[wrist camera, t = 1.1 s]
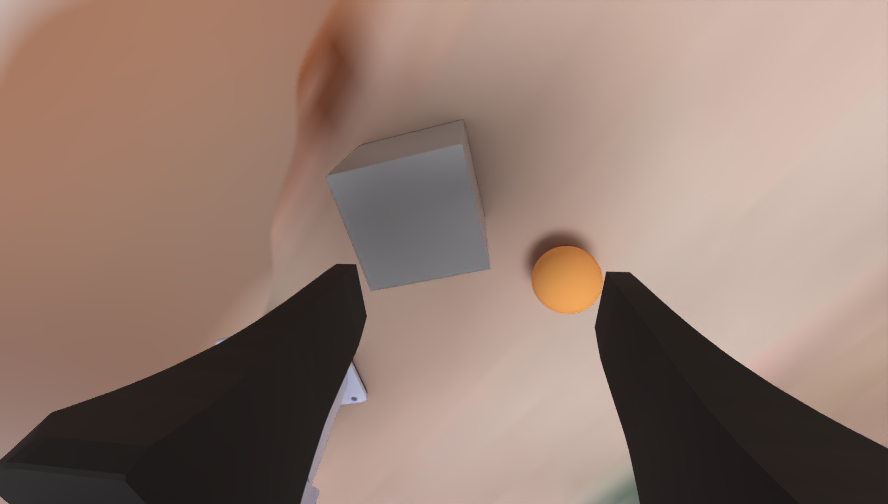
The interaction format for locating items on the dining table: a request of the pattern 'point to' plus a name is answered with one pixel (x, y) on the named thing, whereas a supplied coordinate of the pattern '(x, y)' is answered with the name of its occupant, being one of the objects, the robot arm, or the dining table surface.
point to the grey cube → (413, 207)
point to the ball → (567, 279)
